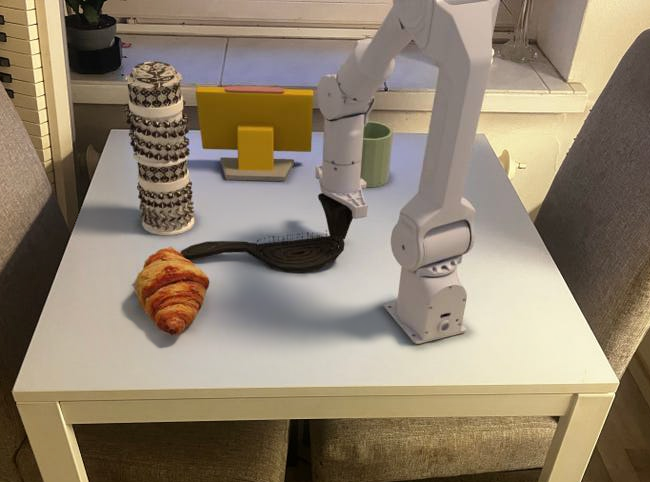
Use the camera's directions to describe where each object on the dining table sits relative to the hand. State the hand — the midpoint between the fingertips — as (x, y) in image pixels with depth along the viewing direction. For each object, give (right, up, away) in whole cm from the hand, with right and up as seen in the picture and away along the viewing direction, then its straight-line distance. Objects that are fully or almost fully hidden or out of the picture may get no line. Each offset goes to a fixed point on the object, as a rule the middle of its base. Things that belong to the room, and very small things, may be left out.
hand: (337, 238), depth 121 cm
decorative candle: (-28, +3, +4) cm, 28 cm away
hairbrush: (-12, -4, -3) cm, 13 cm away
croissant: (-23, -11, -13) cm, 29 cm away
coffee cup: (+6, +14, +20) cm, 25 cm away
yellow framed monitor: (-14, +15, +20) cm, 29 cm away
